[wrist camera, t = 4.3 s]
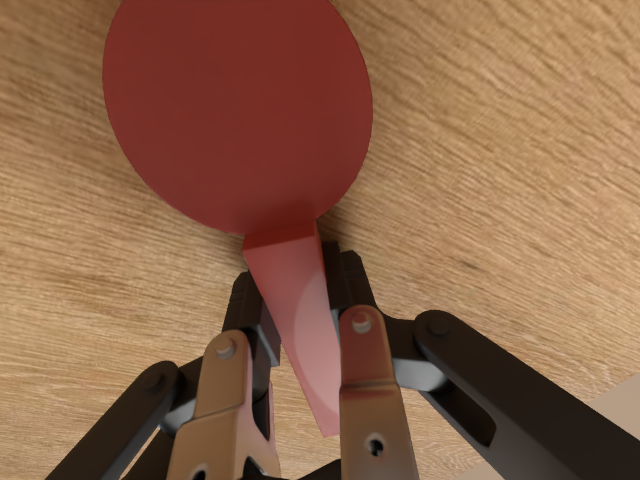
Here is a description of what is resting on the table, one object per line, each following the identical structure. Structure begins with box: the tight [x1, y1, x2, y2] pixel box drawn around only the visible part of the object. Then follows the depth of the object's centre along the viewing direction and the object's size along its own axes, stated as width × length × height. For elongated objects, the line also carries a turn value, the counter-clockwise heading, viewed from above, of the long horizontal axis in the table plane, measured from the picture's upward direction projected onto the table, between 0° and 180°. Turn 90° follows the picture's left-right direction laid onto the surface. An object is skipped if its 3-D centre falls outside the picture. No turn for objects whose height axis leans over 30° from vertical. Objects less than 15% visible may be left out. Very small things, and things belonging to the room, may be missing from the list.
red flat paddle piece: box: [102, 0, 373, 437], centre depth 11 cm, size 19×6×3 cm, turn 11°
